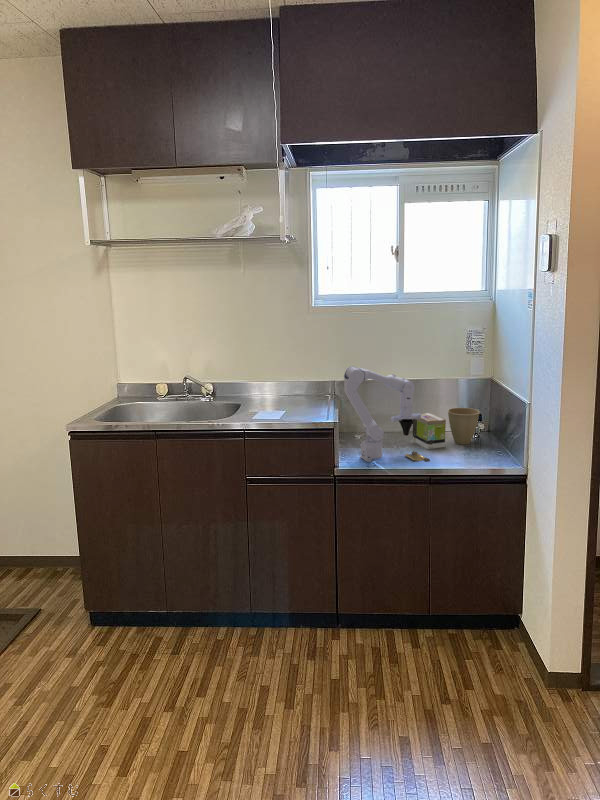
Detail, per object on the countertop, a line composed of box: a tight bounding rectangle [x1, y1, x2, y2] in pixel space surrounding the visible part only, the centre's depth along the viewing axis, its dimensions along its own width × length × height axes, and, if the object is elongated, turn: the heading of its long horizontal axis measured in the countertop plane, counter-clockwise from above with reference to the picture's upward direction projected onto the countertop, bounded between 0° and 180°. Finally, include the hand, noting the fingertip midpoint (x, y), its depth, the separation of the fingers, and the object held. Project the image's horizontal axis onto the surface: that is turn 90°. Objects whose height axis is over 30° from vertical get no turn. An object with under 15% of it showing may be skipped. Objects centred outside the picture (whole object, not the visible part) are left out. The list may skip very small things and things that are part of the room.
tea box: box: [412, 412, 447, 450], centre depth 293 cm, size 15×10×15 cm, turn 18°
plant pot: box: [447, 407, 480, 445], centre depth 296 cm, size 15×15×16 cm
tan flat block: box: [404, 452, 426, 462], centre depth 274 cm, size 7×8×2 cm
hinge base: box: [411, 450, 431, 463], centre depth 276 cm, size 10×12×2 cm
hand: (405, 434), depth 279 cm, fingers closed
